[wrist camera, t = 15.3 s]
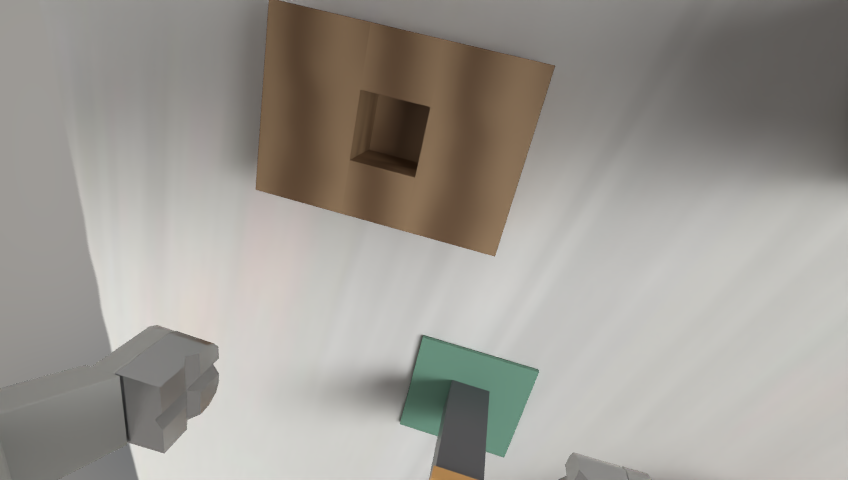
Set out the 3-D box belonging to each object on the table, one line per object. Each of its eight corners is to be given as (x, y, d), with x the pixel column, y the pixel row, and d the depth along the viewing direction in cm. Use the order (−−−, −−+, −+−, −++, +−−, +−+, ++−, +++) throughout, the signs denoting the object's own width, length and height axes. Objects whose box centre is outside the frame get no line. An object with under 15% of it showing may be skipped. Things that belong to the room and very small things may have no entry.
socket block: (547, 67, 34) (555, 65, 28) (497, 230, 39) (494, 256, 33) (306, 10, 35) (269, -2, 30) (290, 174, 41) (255, 189, 35)
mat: (538, 369, 43) (538, 372, 43) (504, 454, 48) (504, 457, 48) (423, 335, 44) (422, 337, 44) (400, 421, 49) (399, 424, 49)
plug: (491, 390, 45) (485, 496, 33) (480, 421, 46) (471, 532, 35) (450, 377, 45) (431, 477, 34) (441, 409, 47) (419, 514, 36)
